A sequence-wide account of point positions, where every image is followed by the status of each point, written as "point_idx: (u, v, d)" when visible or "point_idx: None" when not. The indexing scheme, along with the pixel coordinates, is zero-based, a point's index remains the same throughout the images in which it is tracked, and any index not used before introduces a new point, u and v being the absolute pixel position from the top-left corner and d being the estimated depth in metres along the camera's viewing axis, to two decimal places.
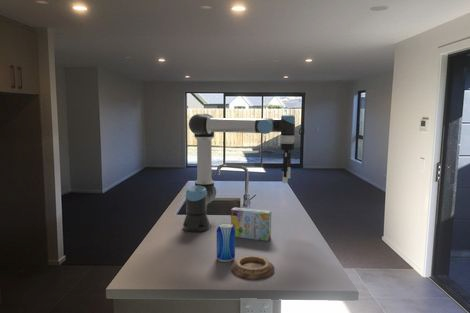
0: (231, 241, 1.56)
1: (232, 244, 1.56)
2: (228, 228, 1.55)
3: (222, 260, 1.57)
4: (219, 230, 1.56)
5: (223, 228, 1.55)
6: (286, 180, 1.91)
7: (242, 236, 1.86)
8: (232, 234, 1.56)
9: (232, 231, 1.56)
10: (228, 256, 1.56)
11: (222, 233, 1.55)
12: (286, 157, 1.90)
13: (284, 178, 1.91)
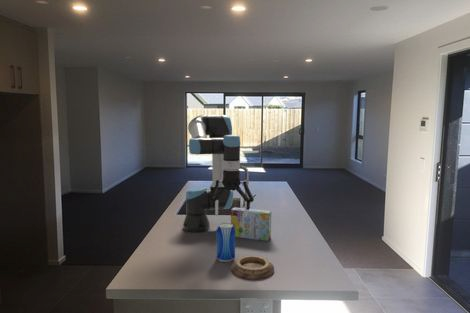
0: (231, 241, 1.56)
1: (232, 244, 1.56)
2: (228, 228, 1.55)
3: (222, 260, 1.57)
4: (219, 230, 1.56)
5: (223, 228, 1.55)
6: None
7: (242, 236, 1.86)
8: (232, 234, 1.56)
9: (232, 231, 1.56)
10: (228, 256, 1.56)
11: (222, 233, 1.55)
12: None
13: None
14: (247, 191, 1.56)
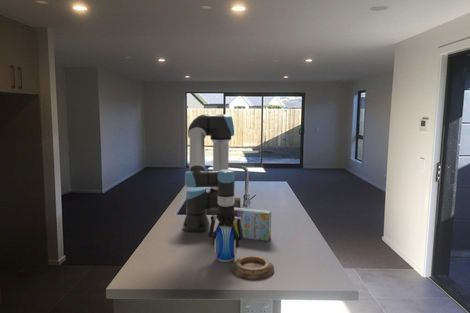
0: (231, 241, 1.56)
1: (232, 244, 1.56)
2: (228, 228, 1.55)
3: (222, 260, 1.57)
4: (219, 230, 1.56)
5: (223, 228, 1.55)
6: None
7: None
8: (232, 234, 1.56)
9: (232, 231, 1.56)
10: (228, 256, 1.56)
11: (222, 233, 1.55)
12: None
13: None
14: (239, 229, 1.55)
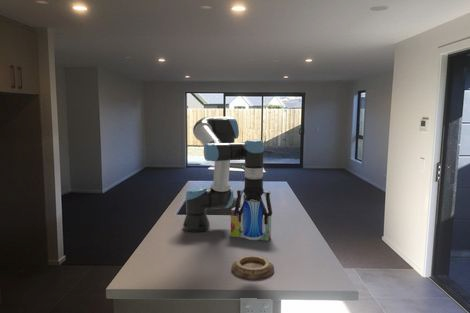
0: (260, 216, 1.43)
1: (261, 220, 1.44)
2: (256, 203, 1.43)
3: (250, 238, 1.44)
4: (246, 205, 1.44)
5: (251, 203, 1.43)
6: None
7: (242, 236, 1.86)
8: (261, 209, 1.43)
9: (261, 206, 1.43)
10: (256, 233, 1.44)
11: (250, 208, 1.42)
12: None
13: None
14: (268, 203, 1.43)
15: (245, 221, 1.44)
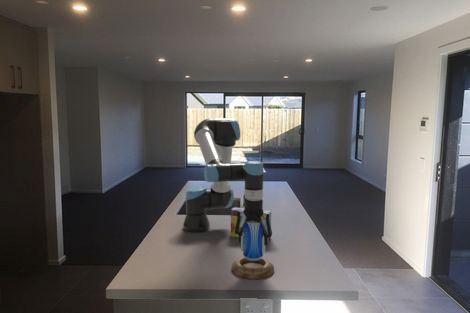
0: (260, 238, 1.45)
1: (260, 241, 1.45)
2: (256, 224, 1.44)
3: (250, 258, 1.45)
4: (246, 226, 1.45)
5: (251, 224, 1.44)
6: None
7: None
8: (261, 230, 1.45)
9: (260, 227, 1.45)
10: (256, 254, 1.45)
11: (250, 229, 1.43)
12: None
13: None
14: (268, 225, 1.44)
15: (245, 242, 1.46)
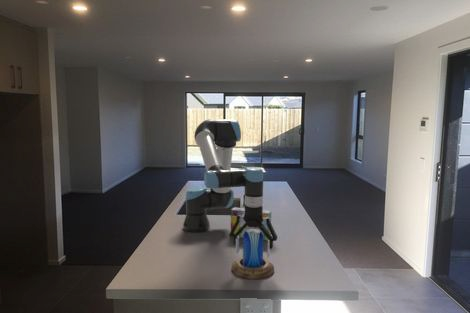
0: (259, 247, 1.45)
1: (260, 251, 1.46)
2: (256, 234, 1.45)
3: None
4: (247, 236, 1.45)
5: (251, 234, 1.45)
6: None
7: (242, 236, 1.86)
8: (260, 240, 1.45)
9: (260, 237, 1.45)
10: (256, 264, 1.46)
11: (250, 239, 1.44)
12: None
13: None
14: (270, 229, 1.44)
15: (245, 251, 1.46)
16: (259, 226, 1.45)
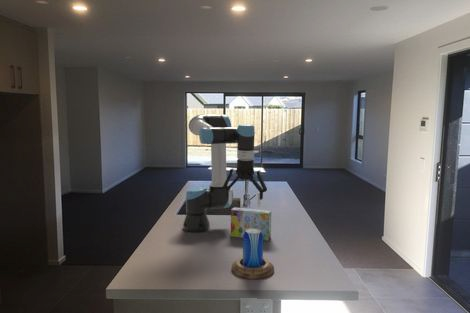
0: (259, 247, 1.45)
1: (260, 251, 1.46)
2: (256, 234, 1.45)
3: None
4: (246, 236, 1.45)
5: (251, 234, 1.45)
6: None
7: (242, 236, 1.86)
8: (260, 240, 1.45)
9: (260, 237, 1.45)
10: (256, 264, 1.46)
11: (250, 239, 1.44)
12: None
13: None
14: (260, 181, 1.56)
15: (245, 252, 1.46)
16: (250, 178, 1.57)
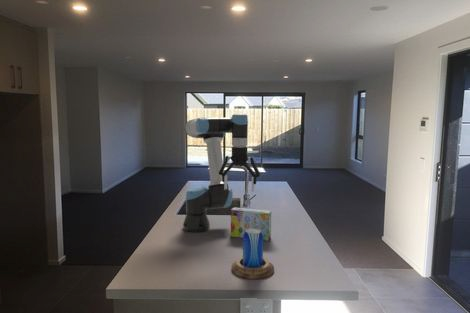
0: (259, 247, 1.45)
1: (260, 251, 1.46)
2: (256, 234, 1.45)
3: None
4: (246, 236, 1.45)
5: (251, 234, 1.45)
6: None
7: (242, 236, 1.86)
8: (260, 240, 1.45)
9: (260, 237, 1.45)
10: (256, 264, 1.46)
11: (250, 239, 1.44)
12: None
13: None
14: (254, 166, 1.67)
15: (245, 252, 1.46)
16: (244, 164, 1.67)
